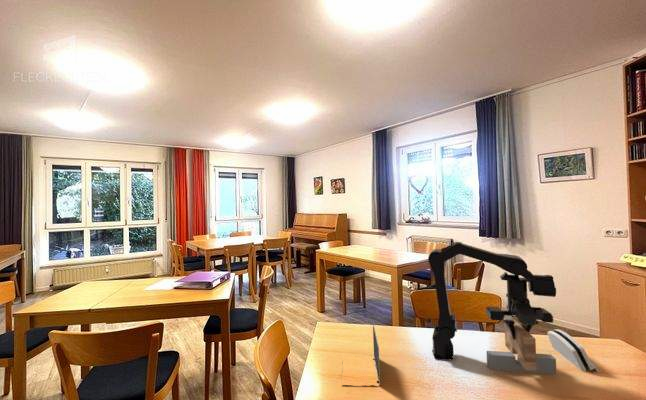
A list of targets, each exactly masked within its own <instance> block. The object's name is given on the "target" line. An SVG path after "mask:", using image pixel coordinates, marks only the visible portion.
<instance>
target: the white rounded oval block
mask: <svg viewBox="0 0 646 400" xmlns="http://www.w3.org/2000/svg"><path fill="white" fill-rule="evenodd" d="M546 334H547V336H548V339H549V342H550V344H551V348H553V349H554V350H555V351H556V352H558V353H559V354H560V355H561V356H563V358H565V359H567V361H569V363H571V364H572V365H574V366H575V367H576V368H577V369H578V370H580V371H581V372H587V370H590V371H592V370H594V371H596V372H597V373H599V372H600V371H599V369H598V367H597V366H596V365H595V364H594V363H592V362H591V360H590V358H589V356H588V354H587V353H586V350H585V349H584V347H583V346H582V345H581V344H580V343H579V342H578V341H577V340H576V339H575V338H573V337H572V335H569V334H568V333H567V332H565V331H563V330H561V329H553V330H549V331H547V332H546Z"/></svg>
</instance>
